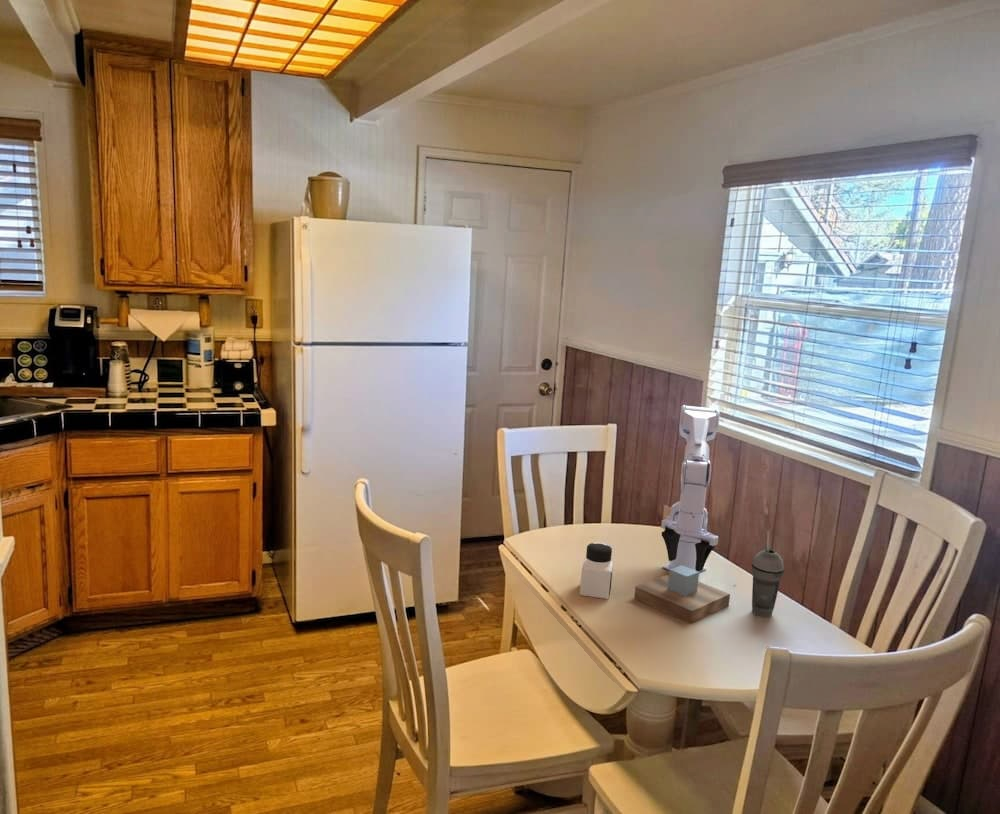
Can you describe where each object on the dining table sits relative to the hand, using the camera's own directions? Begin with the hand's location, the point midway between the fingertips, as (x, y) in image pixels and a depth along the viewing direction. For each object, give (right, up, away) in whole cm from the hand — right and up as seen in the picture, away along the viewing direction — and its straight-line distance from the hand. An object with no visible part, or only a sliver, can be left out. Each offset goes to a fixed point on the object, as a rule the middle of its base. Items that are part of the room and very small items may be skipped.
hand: (685, 565), depth 181 cm
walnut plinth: (-1, -9, +2) cm, 9 cm away
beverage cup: (+18, -11, -2) cm, 21 cm away
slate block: (-1, -6, +1) cm, 6 cm away
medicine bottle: (-21, -8, +5) cm, 23 cm away
